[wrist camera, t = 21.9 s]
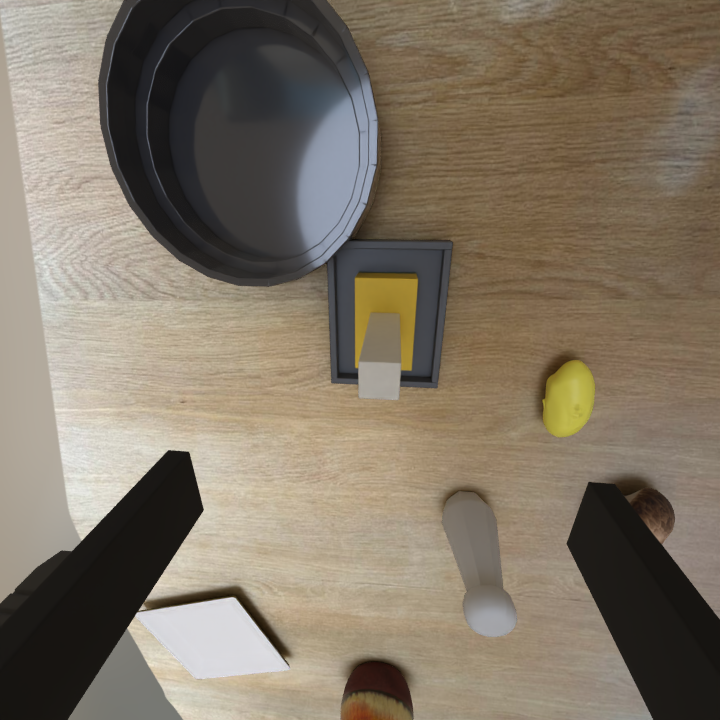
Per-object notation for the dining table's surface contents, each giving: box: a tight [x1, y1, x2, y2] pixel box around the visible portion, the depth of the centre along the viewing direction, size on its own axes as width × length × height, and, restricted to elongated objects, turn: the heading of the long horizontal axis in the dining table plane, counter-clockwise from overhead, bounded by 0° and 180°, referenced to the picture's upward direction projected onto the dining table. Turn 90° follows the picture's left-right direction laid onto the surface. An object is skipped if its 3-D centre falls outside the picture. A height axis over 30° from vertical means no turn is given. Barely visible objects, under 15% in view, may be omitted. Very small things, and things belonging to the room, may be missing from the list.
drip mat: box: [327, 239, 453, 388], centre depth 31 cm, size 13×10×2 cm
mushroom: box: [624, 488, 675, 544], centre depth 36 cm, size 8×8×6 cm
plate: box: [135, 595, 290, 679], centre depth 55 cm, size 19×19×2 cm
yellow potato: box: [542, 360, 595, 437], centre depth 31 cm, size 4×8×4 cm, turn 178°
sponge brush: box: [355, 271, 418, 400], centre depth 25 cm, size 8×5×13 cm, turn 0°
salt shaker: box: [442, 491, 517, 637], centre depth 34 cm, size 6×6×13 cm
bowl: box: [98, 0, 382, 287], centre depth 25 cm, size 18×18×6 cm
